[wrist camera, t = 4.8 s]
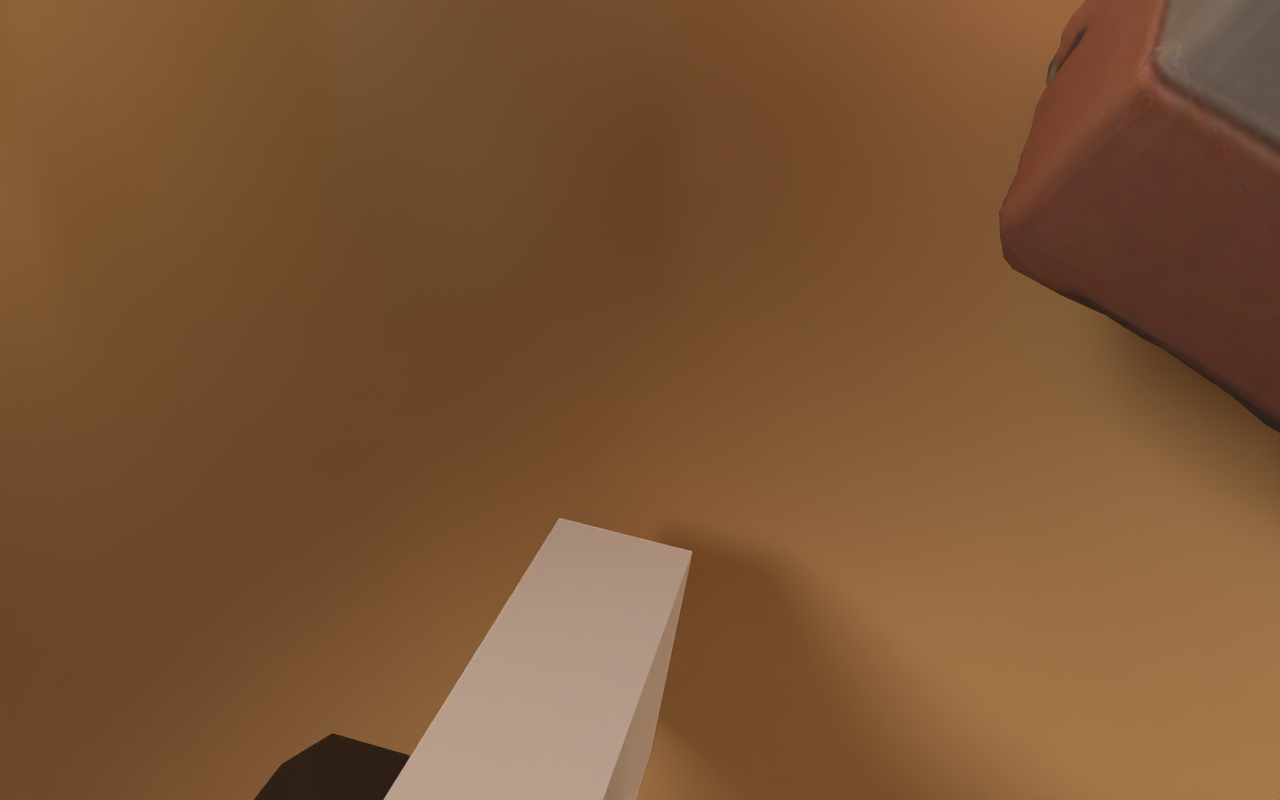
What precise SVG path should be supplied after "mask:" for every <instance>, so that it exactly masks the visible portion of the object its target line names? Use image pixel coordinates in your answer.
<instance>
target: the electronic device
mask: <svg viewBox="0 0 1280 800" xmlns="http://www.w3.org/2000/svg"><path fill="white" fill-rule="evenodd" d="M1047 84H1048V86H1047V88H1046V89H1045V91H1044V93H1043V95H1042V97H1041V99H1040V101H1039V103H1038V105H1037V107H1036V111H1035V115H1034V119H1033V124H1032V128H1031V132H1030V135H1029V137H1028V140H1027V142H1026V145H1025V147H1024V150H1023V153H1022V155H1021V159H1020V163H1019V167H1018V171H1017V174H1016V176H1015V179H1014V181H1013V183H1012V185H1011V187H1010V190H1009V192H1008V194H1007V196H1006V199H1005V201H1004V203H1003V205H1002V207H1001V210H1000V212H999V215H1000V237H1001V243H1002V249H1003V255H1004V258H1005V260H1006V261H1007V262H1008V263H1009V264H1010V266H1011V267H1012V268H1013V269H1015V270H1016V271H1018V272H1020V273H1022V274H1024V275H1025V276H1027V277H1029V278H1031V279H1033V280H1035V281H1036V282H1038V283H1040V284H1042V285H1044V286H1045V287H1047V288H1049V289H1051V290H1053V291H1055V292H1056V293H1058V294H1060V295H1062V296H1064V297H1067V298H1069V299H1071V300H1073V301H1075V302H1078V303H1080V304H1082V305H1084V306H1087V307H1089V308H1091V309H1093V310H1095V311H1098V312H1100V313H1102V314H1104V315H1106V316H1108V317H1109V318H1111V319H1113V320H1114V321H1116V322H1117V323H1119V324H1121V325H1122V326H1124V327H1125V328H1127V329H1129V330H1130V331H1132V332H1133V333H1135V334H1137V335H1138V336H1140V337H1141V338H1143V339H1145V340H1147V341H1149V342H1151V343H1153V344H1155V345H1156V346H1158V347H1160V348H1162V349H1164V350H1166V351H1167V352H1169V353H1170V354H1172V355H1173V356H1175V357H1176V358H1178V359H1179V360H1181V361H1182V362H1183V363H1185V364H1186V365H1188V366H1189V367H1191V368H1192V369H1194V370H1195V371H1197V372H1198V373H1200V374H1201V375H1202V376H1204V377H1205V378H1207V379H1208V380H1210V381H1211V382H1213V383H1214V384H1216V385H1217V386H1219V387H1220V388H1222V389H1223V390H1224V391H1226V392H1227V393H1229V394H1230V395H1232V396H1233V397H1234V398H1235V399H1236V400H1238V401H1239V402H1240V403H1241V404H1242V405H1243V406H1245V407H1246V408H1247V409H1248V410H1249V411H1250V412H1252V413H1253V414H1254V415H1255V416H1256V417H1258V418H1259V419H1260V420H1261V421H1262V422H1263V423H1265V424H1266V425H1267V426H1269V427H1271V428H1273V429H1274V430H1276V431H1278V432H1279V433H1280V0H1086V1H1085V2H1084V3H1083V4H1082V6H1081V7H1080V8H1079V9H1078V10H1077V11H1076V12H1075V13H1074V15H1073V16H1072V17H1071V19H1070V21H1069V23H1068V25H1067V27H1066V28H1065V30H1064V32H1063V34H1062V39H1061V46H1060V48H1059V50H1058V52H1057V53H1056V55H1055V57H1054V59H1053V60H1052V62H1051V64H1050V65H1049V70H1048V76H1047Z"/></svg>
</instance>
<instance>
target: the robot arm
mask: <svg viewBox="0 0 1280 800" xmlns="http://www.w3.org/2000/svg"><path fill="white" fill-rule="evenodd" d="M692 552H693V551H690V550H686V549H682V548H678V547H674V546H670V545H666V544H662V543H658V542H654V541H650V540H646V539H642V538H638V537H634V536H630V535H626V534H622V533H618V532H614V531H610V530H606V529H602V528H598V527H594V526H590V525H586V524H582V523H579V522H575V521H571V520H567V519H563V518H559V519H558V521H557V522H556V524H555V525H554V527H553V529H552V530H551V532H550V533H549V535H548V537H547V538H546V540H545V542H544V543H543V545H542V546H541V548H540V550H539V551H538V553H537V554H536V556H535V558H534V559H533V561H532V562H531V564H530V566H529V567H528V569H527V570H526V572H525V574H524V575H523V577H522V578H521V580H520V582H519V583H518V585H517V586H516V588H515V590H514V591H513V593H512V594H511V596H510V598H509V599H508V601H507V602H506V604H505V606H504V607H503V609H502V610H501V612H500V614H499V615H498V617H497V619H496V620H495V622H494V623H493V625H492V627H491V628H490V630H489V631H488V633H487V635H486V636H485V638H484V639H483V641H482V643H481V644H480V646H479V647H478V649H477V651H476V652H475V654H474V655H473V657H472V659H471V660H470V662H469V663H468V665H467V667H466V668H465V670H464V671H463V673H462V675H461V676H460V678H459V679H458V681H457V683H456V684H455V686H454V687H453V689H452V691H451V692H450V694H449V696H448V697H447V699H446V700H445V702H444V704H443V705H442V707H441V708H440V710H439V712H438V713H437V715H436V716H435V718H434V720H433V721H432V723H431V724H430V726H429V728H428V729H427V731H426V732H425V734H424V736H423V737H422V739H421V740H420V742H419V744H418V745H417V747H416V748H415V750H414V752H413V753H412V755H411V756H409V755H406V754H402V753H399V752H395V751H392V750H388V749H385V748H382V747H378V746H375V745H371V744H368V743H364V742H361V741H357V740H354V739H350V738H347V737H343V736H340V735H336V734H333V733H332V734H331V735H329V736H327V737H326V738H324V739H322V740H321V741H319V742H317V743H316V744H314V745H312V746H311V747H309V748H307V749H306V750H304V751H303V752H301V753H299V754H298V755H296V756H294V757H293V758H291V759H289V760H288V761H286V762H284V763H283V764H281V766H280V767H279V768H278V769H277V771H276V772H275V773H274V775H273V776H272V777H271V778H270V780H269V781H268V782H267V784H266V785H265V786H264V787H263V789H262V790H261V791H260V793H259V794H258V795H257V796H256V798H255V799H254V800H636V798H637V795H638V792H639V789H640V785H641V782H642V779H643V776H644V773H645V770H646V767H647V764H648V761H649V757H650V754H651V750H652V745H653V740H654V735H655V731H656V726H657V721H658V716H659V711H660V707H661V702H662V697H663V692H664V687H665V682H666V678H667V673H668V668H669V663H670V658H671V653H672V649H673V644H674V639H675V634H676V629H677V625H678V620H679V615H680V610H681V605H682V600H683V596H684V591H685V586H686V581H687V576H688V572H689V567H690V562H691V557H692Z"/></svg>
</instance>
